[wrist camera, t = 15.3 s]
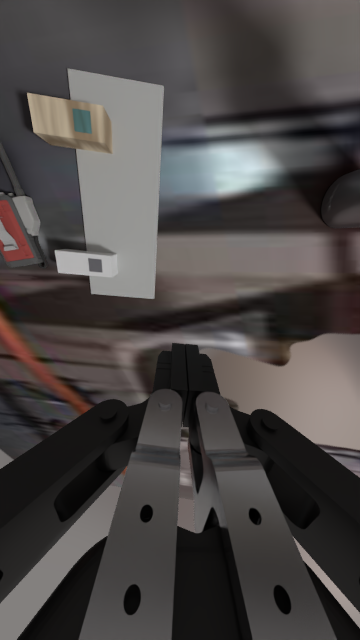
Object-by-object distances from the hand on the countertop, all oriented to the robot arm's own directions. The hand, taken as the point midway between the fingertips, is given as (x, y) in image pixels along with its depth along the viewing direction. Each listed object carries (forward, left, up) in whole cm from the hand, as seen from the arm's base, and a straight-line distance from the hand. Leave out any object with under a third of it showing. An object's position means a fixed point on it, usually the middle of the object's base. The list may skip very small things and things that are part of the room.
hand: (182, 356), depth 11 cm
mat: (+11, -10, -31) cm, 35 cm away
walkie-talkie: (+31, -7, -32) cm, 45 cm away
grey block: (+12, 0, -29) cm, 31 cm away
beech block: (+12, -20, -29) cm, 37 cm away
